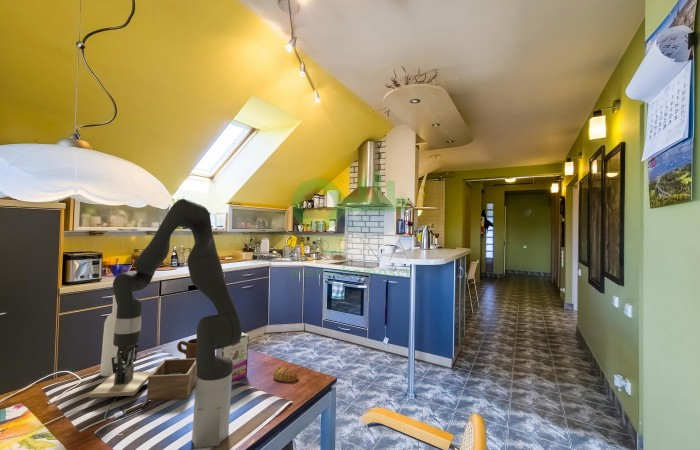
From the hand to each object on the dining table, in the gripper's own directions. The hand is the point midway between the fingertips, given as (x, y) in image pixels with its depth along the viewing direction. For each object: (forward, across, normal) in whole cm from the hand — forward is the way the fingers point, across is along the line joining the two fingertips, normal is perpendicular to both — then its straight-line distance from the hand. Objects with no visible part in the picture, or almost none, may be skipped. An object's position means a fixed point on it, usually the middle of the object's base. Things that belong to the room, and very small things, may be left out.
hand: (123, 379), depth 104 cm
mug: (+4, +23, -15) cm, 28 cm away
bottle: (+4, +17, +11) cm, 21 cm away
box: (+4, 0, -16) cm, 17 cm away
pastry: (+5, +5, -54) cm, 55 cm away
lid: (+2, 0, 0) cm, 2 cm away
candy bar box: (+4, +6, -34) cm, 35 cm away
